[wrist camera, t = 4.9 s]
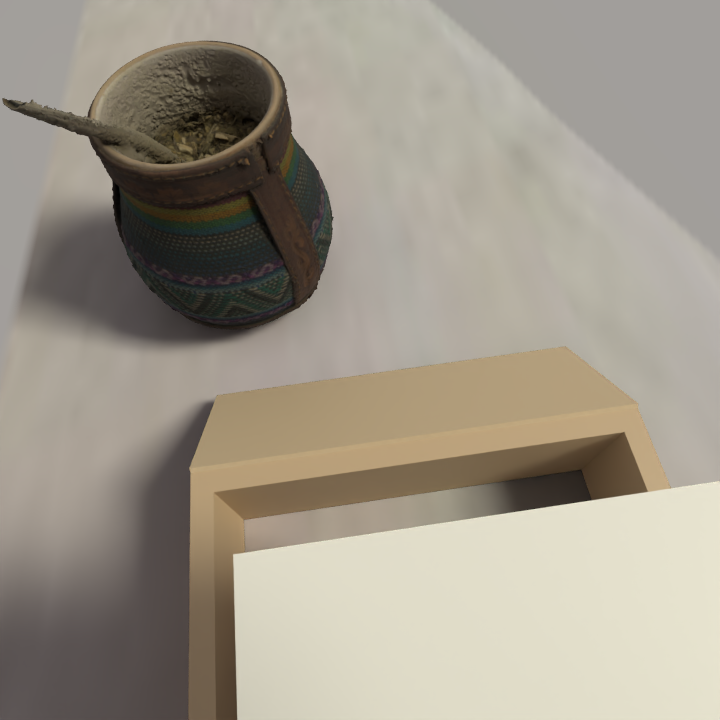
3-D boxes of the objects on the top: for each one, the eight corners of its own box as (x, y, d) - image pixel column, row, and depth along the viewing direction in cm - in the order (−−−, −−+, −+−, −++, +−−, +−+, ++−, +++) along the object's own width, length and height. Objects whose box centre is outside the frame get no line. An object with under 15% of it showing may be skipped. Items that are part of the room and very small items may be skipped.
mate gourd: (375, 256, 22) (371, -6, 13) (254, 397, 19) (146, 184, 10) (242, 185, 24) (162, -81, 15) (116, 302, 21) (-71, 59, 12)
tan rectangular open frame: (870, 1222, 10) (1084, 1476, 7) (241, 1349, 10) (175, 1681, 7) (559, 356, 19) (595, 299, 16) (222, 403, 19) (190, 355, 16)
